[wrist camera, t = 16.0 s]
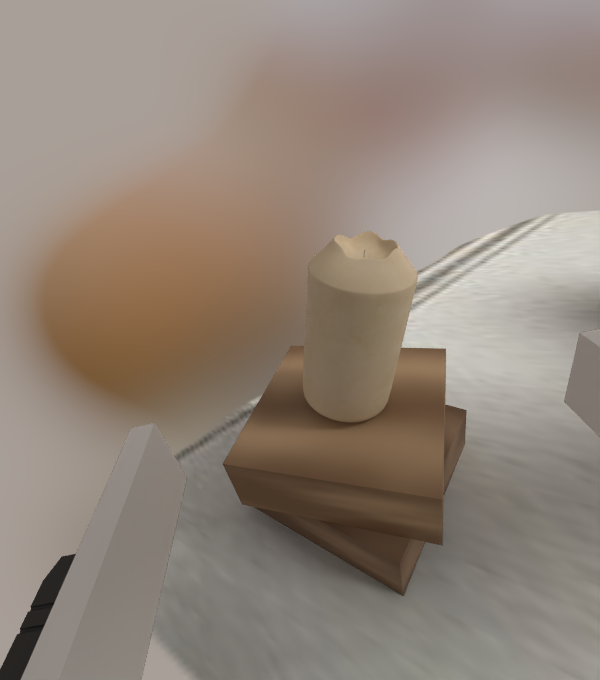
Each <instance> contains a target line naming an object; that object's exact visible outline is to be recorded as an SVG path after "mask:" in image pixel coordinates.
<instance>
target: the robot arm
mask: <svg viewBox="0 0 600 680" xmlns="http://www.w3.org/2000/svg"><path fill="white" fill-rule="evenodd" d="M564 402H565V403H566V404H567V405H568V406H569V407H570V408H571V409H572V410H573V411H574V412H575V413H576V414H577V415H578V416H579V417H580V418H581V419H582V420H583V421H584V422H585V423H586V424H587V425H588V426H589V427H590V428H591V429H592V430H593V431H594V432H595V433H596V434H597V435H598V436H599V437H600V329H595V330H591V331H586V332H581V333H580V334H579V338H578V343H577V347H576V352H575V356H574V360H573V365H572V369H571V374H570V378H569V382H568V387H567V391H566V396H565V400H564ZM186 481H187V477H186V475H185V473H184V472H183V470H182V468H181V467H180V465H179V463H178V462H177V460H176V458H175V457H174V455H173V453H172V452H171V450H170V448H169V447H168V445H167V443H166V442H165V440H164V438H163V437H162V435H161V433H160V432H159V430H158V428H157V427H156V425H155V423H153V424H148V425H144V426H139V427H134V428H131V430H130V432H129V435H128V437H127V439H126V441H125V444H124V446H123V448H122V450H121V453H120V455H119V457H118V459H117V462H116V464H115V466H114V469H113V471H112V473H111V476H110V478H109V480H108V482H107V484H106V487H105V489H104V492H103V494H102V496H101V498H100V500H99V503H98V505H97V507H96V510H95V512H94V514H93V516H92V519H91V521H90V523H89V525H88V528H87V530H86V532H85V535H84V537H83V539H82V541H81V544H80V546H79V548H78V550H77V553H76V554H73V555H68V556H63V557H61V558H60V560H59V561H58V562H57V564H56V565H55V566H54V568H53V569H52V570H51V571H50V573H49V574H48V575H47V576H46V578H45V579H44V580H43V582H42V584H41V586H40V588H39V590H38V592H37V595H36V597H35V599H34V601H33V603H32V605H31V611H30V612H28V613H27V615H26V617H25V619H24V622H23V623H22V626H21V628H20V634H17V636H16V638H15V640H14V642H13V644H12V646H11V648H10V650H9V653H8V654H7V657H6V659H5V661H4V663H3V665H2V667H1V669H0V680H141V678H142V674H143V670H144V666H145V661H146V657H147V652H148V648H149V644H150V639H151V635H152V631H153V626H154V622H155V617H156V613H157V609H158V604H159V600H160V595H161V591H162V587H163V582H164V578H165V573H166V569H167V565H168V560H169V556H170V551H171V547H172V543H173V538H174V534H175V529H176V525H177V521H178V516H179V512H180V508H181V503H182V499H183V494H184V490H185V486H186Z"/></svg>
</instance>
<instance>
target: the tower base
mask: <svg viewBox="0 0 600 680" xmlns="http://www.w3.org/2000/svg"><path fill="white" fill-rule="evenodd" d="M465 429H466V410H464V409H460V408H456V407H452V406H449V405H445V441H444V491H443V496H444V494H445V491H446V489H447V486H448V484H449V482H450V479H451V477H452V474H453V472H454V469H455V467H456V464H457V462H458V459H459V457H460V454H461V452H462V449H463V447H464V444H465ZM255 508H257V509H258V510H260V511H262V512H263V513H265V514H267V515H268V516H270V517H272V518H273V519H275V520H277V521H278V522H280V523H282V524H284V525H285V526H287V527H289V528H290V529H292V530H294V531H295V532H297V533H299V534H300V535H302V536H304V537H305V538H307V539H309V540H310V541H312V542H314V543H315V544H317V545H319V546H320V547H322V548H324V549H325V550H327V551H329V552H331V553H332V554H334V555H336V556H337V557H339V558H341V559H342V560H344V561H346V562H347V563H349V564H351V565H352V566H354V567H356V568H357V569H359V570H361V571H362V572H364V573H366V574H367V575H369V576H371V577H373V578H374V579H376V580H378V581H379V582H381V583H383V584H384V585H386V586H388V587H389V588H391V589H393V590H394V591H396V592H398V593H399V594H401V595H404V593H405V590H406V588H407V586H408V583H409V581H410V578H411V576H412V573H413V571H414V568H415V566H416V563H417V561H418V558H419V556H420V553H421V551H422V548H423V546H424V543H425V542H424V541H419V540H414V539H409V538H404V537H400V536H395V535H390V534H385V533H380V532H375V531H370V530H365V529H360V528H355V527H351V526H346V525H341V524H336V523H331V522H326V521H321V520H316V519H311V518H307V517H302V516H297V515H292V514H287V513H282V512H277V511H272V510H268V509H263V508H258V507H255Z"/></svg>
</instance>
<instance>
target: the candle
mask: <svg viewBox="0 0 600 680" xmlns="http://www.w3.org/2000/svg"><path fill="white" fill-rule="evenodd" d="M417 279H418V274H417V272H416V270H415V268H414V267H413V266H412V264H411V263H410V261H409V260H408V259H407V257H406V256H405V254H404V253H403V252H402V250H401V249H400V248H399V246H398V244H397V243H396V242H395V241H393V240H383V239H382V238H380V237H379V236H378V235H377V234H375V233H374V232H371V231H367V232H363V233H361V234H359V235H357V236H355V237H353V238H347V237H345V236H343V235H337V236H335V237H334V238H333V239H332V241H331V242H330V243H329V244H328V245H327V246H326V247H325V248H324V249H323V250H321V251H320V252H319V253H318V254H317V255H316V256H315V257H314V258H313V259H312V260H311V261H310V262H309V266H308V281H307V302H306V325H305V344H304V364H303V392H304V396H305V398H306V400H307V402H308V404H309V405H310V406H311V407H312V408H313V409H314V410H315V411H317V412H318V413H319V414H321V415H323V416H325V417H327V418H329V419H332V420H336V421H341V422H361V421H366V420H369V419H371V418H373V417H375V416H377V415H378V414H379V413H380V412H382V410H383V409H384V408H385V406H386V404H387V402H388V399H389V395H390V392H391V388H392V384H393V379H394V375H395V371H396V367H397V363H398V359H399V354H400V350H401V346H402V342H403V338H404V333H405V329H406V325H407V321H408V317H409V312H410V308H411V304H412V300H413V296H414V291H415V287H416V283H417Z"/></svg>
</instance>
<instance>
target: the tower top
mask: <svg viewBox="0 0 600 680" xmlns="http://www.w3.org/2000/svg"><path fill="white" fill-rule="evenodd" d="M303 364H304V346H291V347H290V349H289V350H288V352H287V354H286V356H285V357H284V359H283V361H282V363H281V364H280V366H279V368H278V369H277V371H276V373H275V375H274V376H273V378H272V380H271V382H270V384H269V385H268V387H267V389H266V390H265V392H264V394H263V395H262V397H261V399H260V401H259V402H258V404H257V406H256V407H255V409H254V411H253V413H252V414H251V416H250V418H249V420H248V421H247V423H246V425H245V426H244V428H243V430H242V432H241V433H240V435H239V437H238V439H237V440H236V442H235V444H234V446H233V447H232V449H231V451H230V452H229V454H228V456H227V458H226V459H225V461H224V463H223V465H224V467H225V469H226V472H227V474H228V476H229V478H230V480H231V482H232V484H233V486H234V488H235V490H236V492H237V494H238V496H239V499H240V501H241V503H242V504H243V505H248V506H253V507H258V508H263V509H268V510H272V511H277V512H282V513H287V514H292V515H297V516H302V517H307V518H311V519H316V520H321V521H326V522H331V523H336V524H341V525H346V526H351V527H355V528H360V529H365V530H370V531H375V532H380V533H385V534H390V535H395V536H400V537H404V538H409V539H414V540H419V541H424V542H429V543H433V544H438V545H442V541H443V491H444V441H445V390H446V349H432V348H401V350H400V354H399V359H398V363H397V367H396V371H395V375H394V379H393V384H392V388H391V392H390V395H389V399H388V402H387V404H386V406H385V408H384V409H383V410H382V412H380V413H379V414H378V415H377V416H375V417H373V418H371V419H369V420H366V421H361V422H341V421H336V420H332V419H329V418H327V417H325V416H323V415H321V414H319V413H318V412H317V411H315V410H314V409H313V408H312V407H311V406H310V405H309V404H308V402H307V400H306V398H305V396H304V392H303Z"/></svg>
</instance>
